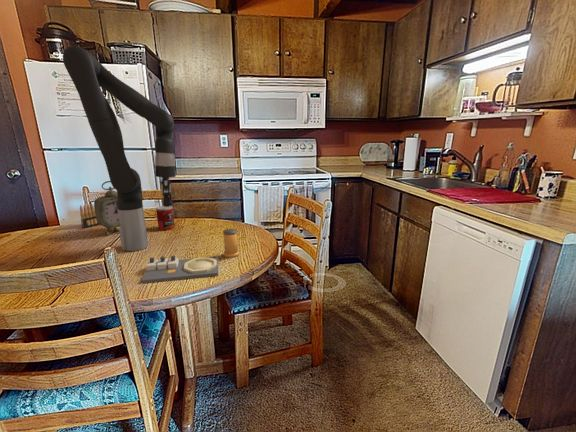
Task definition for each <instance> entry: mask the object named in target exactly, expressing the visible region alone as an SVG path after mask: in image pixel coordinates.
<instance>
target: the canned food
mask: <svg viewBox="0 0 576 432" xmlns="http://www.w3.org/2000/svg"><path fill="white" fill-rule="evenodd" d="M155 210H156V211H155V212H156V220H157V226H158V230H160V231H171V230H173V229H175V227H176V226H175V217H174V215H175V214H174V208H173V206H172V205H169V207H164V206H163V205H158V206H156V208H155Z"/></svg>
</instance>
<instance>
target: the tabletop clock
mask: <svg viewBox="0 0 576 432" xmlns="http://www.w3.org/2000/svg"><path fill="white" fill-rule="evenodd" d="M107 183H108V184H109V183H111V181H110V180H107V181H104V182H103V183H102V184H101V188H102V189H103V190H104V191H106V192H105V194H104V196H99V197H97V198H95V199H94V202H93V203H94V204H93V207H94V210H95V216H96V219H97V221H98V223H99V224H100V225H99V226H102V227H104V228H106V229H107V231H106V232H105V235H106V236H110V234H111V233H110V229H112V230H113V232H115V231H117V230H118V229H117V228H120V221H119V215H118V209H117V190H116V189H115V188H114V187H111V186H109V187H108V188H105V187H104V185H105V184H107Z"/></svg>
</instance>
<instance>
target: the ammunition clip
mask: <svg viewBox="0 0 576 432" xmlns="http://www.w3.org/2000/svg"><path fill="white" fill-rule="evenodd" d="M79 210H80V212H79V213H80V221H81V228H82V229H83V228H86V229H90V228H94V227H97V226H101V225H100V224H99V223H98V221H97V219H96V216H95V210H94V204H93V203H90V204H89V203H87V206H86V204H83V206H82V205H79ZM93 226H94V227H93ZM89 227H90V228H89Z"/></svg>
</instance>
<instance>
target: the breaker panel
mask: <svg viewBox="0 0 576 432" xmlns="http://www.w3.org/2000/svg"><path fill="white" fill-rule="evenodd" d="M145 268H146V271H145V273H144V275H143V276H142V278H141V284H147V283H148V284H149V283H156V282H157V283H158V282H167V281H178V280H185V279H196V278H197V279H198V278H207V277H208V278H209V277H217V276H218V277H219V256H210V257H208V256H205V257H196V258H187V259H179V257H176V255H171V256H170V258H166V257H165V256H160V258H159V260H158V258H157V259H155V257H150V258H149V259H148V262H147V263H146V265H145Z"/></svg>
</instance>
